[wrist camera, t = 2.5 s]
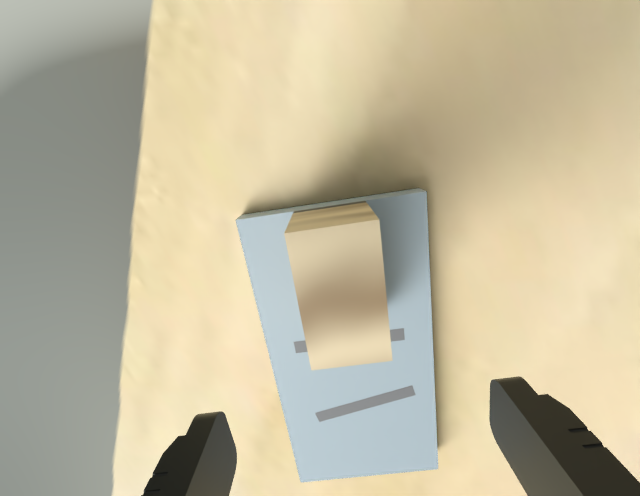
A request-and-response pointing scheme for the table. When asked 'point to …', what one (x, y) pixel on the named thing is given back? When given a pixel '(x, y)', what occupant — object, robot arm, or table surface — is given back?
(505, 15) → the table surface
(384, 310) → the block
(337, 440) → the board
